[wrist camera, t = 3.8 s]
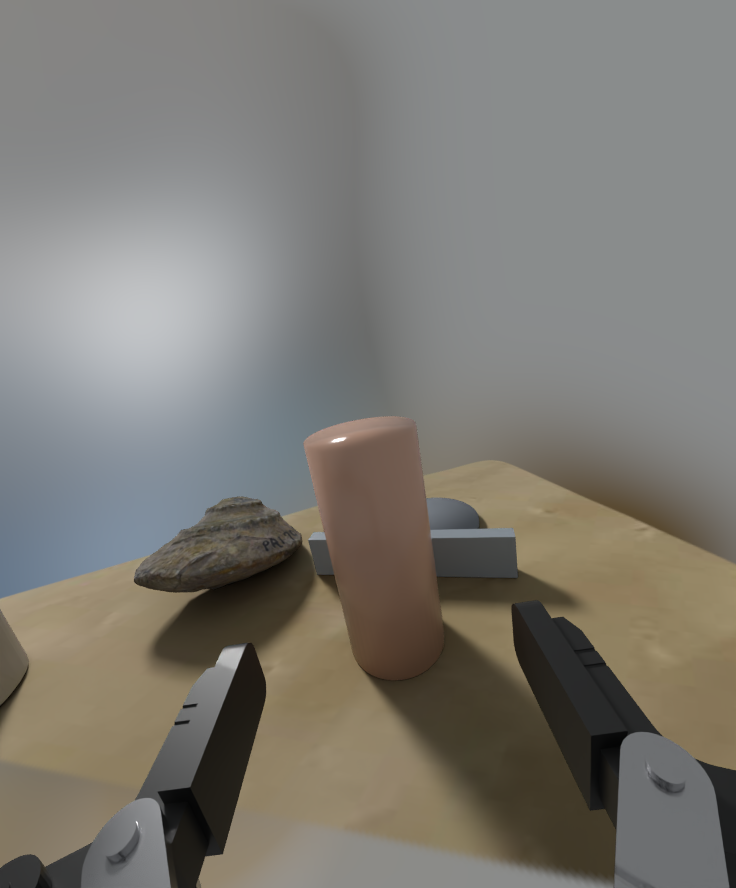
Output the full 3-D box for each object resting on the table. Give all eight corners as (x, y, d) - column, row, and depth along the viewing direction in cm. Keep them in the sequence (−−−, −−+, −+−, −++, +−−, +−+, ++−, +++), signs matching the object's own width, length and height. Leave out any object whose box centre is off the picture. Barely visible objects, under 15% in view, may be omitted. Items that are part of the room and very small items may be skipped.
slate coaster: (375, 554, 27) (374, 547, 27) (393, 505, 34) (392, 499, 34) (482, 553, 25) (481, 546, 24) (476, 501, 32) (476, 495, 32)
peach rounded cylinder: (339, 674, 18) (283, 455, 14) (364, 599, 22) (327, 422, 19) (442, 686, 16) (407, 445, 13) (446, 603, 21) (421, 412, 17)
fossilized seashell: (325, 548, 26) (268, 478, 24) (203, 673, 21) (121, 599, 19) (283, 525, 35) (239, 473, 33) (192, 609, 31) (134, 555, 29)
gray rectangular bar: (317, 574, 26) (308, 540, 25) (322, 565, 27) (313, 532, 26) (518, 577, 22) (515, 537, 21) (515, 567, 23) (512, 528, 22)
